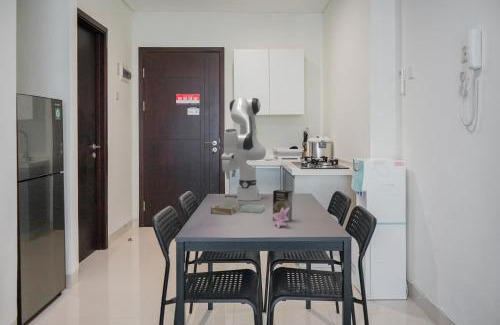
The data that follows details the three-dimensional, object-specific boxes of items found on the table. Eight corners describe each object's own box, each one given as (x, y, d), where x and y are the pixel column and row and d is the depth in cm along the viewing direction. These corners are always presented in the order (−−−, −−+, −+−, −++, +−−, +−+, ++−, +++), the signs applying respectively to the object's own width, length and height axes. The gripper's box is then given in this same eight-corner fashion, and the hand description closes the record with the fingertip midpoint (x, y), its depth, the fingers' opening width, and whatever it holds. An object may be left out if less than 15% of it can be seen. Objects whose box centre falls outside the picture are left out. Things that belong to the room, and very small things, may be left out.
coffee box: (272, 220, 226) (272, 190, 225) (277, 218, 232) (277, 189, 231) (287, 221, 222) (288, 191, 221) (292, 219, 228) (292, 190, 226)
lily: (273, 225, 219) (266, 210, 216) (294, 216, 219) (287, 201, 215) (276, 237, 208) (269, 222, 205) (298, 228, 207) (291, 213, 204)
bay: (217, 210, 254) (217, 204, 254) (236, 211, 250) (236, 205, 250) (210, 213, 245) (210, 207, 244) (230, 214, 241) (230, 208, 241)
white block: (226, 208, 263) (226, 194, 262) (238, 208, 260) (238, 195, 260) (223, 209, 258) (223, 195, 257) (235, 210, 256) (235, 196, 255)
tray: (245, 209, 259) (245, 204, 259) (264, 210, 256) (264, 205, 256) (240, 211, 250) (240, 207, 250) (260, 213, 246) (260, 208, 246)
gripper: (231, 154, 268) (231, 175, 269) (220, 156, 248) (220, 179, 249) (241, 154, 266) (241, 176, 267) (230, 156, 246) (230, 179, 248)
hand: (230, 177), depth 258 cm, fingers open, 8 cm apart
